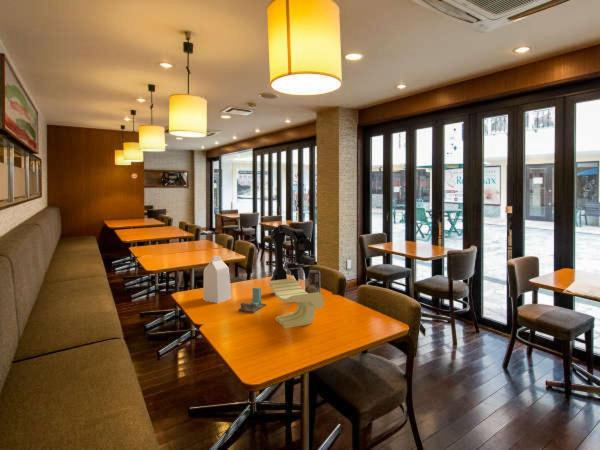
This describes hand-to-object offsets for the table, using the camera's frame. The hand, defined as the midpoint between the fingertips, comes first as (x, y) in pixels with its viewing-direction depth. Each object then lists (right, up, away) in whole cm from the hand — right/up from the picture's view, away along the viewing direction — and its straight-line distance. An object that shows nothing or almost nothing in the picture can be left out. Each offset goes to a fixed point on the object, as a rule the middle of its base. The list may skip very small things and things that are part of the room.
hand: (302, 279), depth 206 cm
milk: (-51, -14, +15) cm, 55 cm away
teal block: (-27, -14, -1) cm, 30 cm away
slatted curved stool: (-4, -17, -23) cm, 29 cm away
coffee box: (+6, -13, +17) cm, 23 cm away
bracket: (-27, -15, -3) cm, 31 cm away
